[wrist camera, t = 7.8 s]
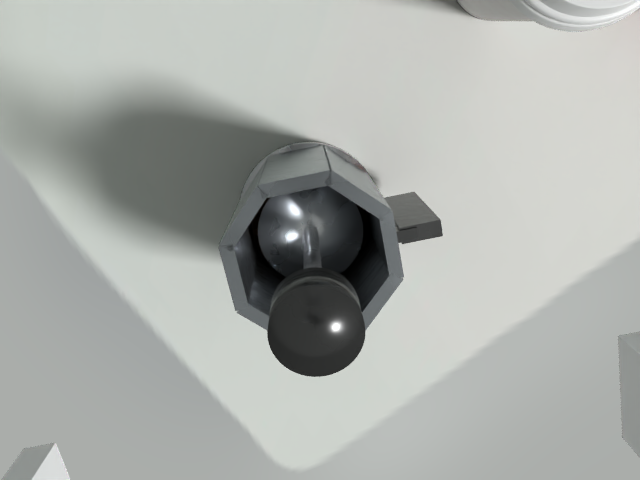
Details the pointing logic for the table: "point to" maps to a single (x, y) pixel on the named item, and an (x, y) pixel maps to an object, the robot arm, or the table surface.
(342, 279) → the plunger
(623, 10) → the coffee cup
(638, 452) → the robot arm
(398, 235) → the press carafe
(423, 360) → the table surface
